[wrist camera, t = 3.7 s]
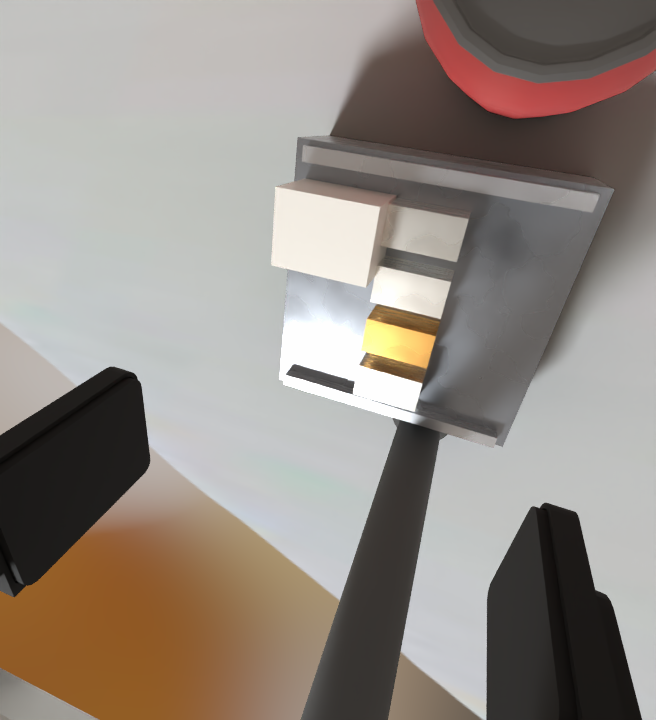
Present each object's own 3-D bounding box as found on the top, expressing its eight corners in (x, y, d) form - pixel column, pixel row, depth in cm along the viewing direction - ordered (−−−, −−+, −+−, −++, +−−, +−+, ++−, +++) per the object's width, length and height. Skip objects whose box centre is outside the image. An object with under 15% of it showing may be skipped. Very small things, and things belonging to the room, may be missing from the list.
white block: (396, 195, 18) (380, 206, 15) (383, 266, 19) (365, 287, 17) (305, 178, 18) (275, 186, 16) (299, 247, 20) (271, 264, 17)
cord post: (461, 394, 25) (392, 922, 8) (445, 441, 27) (362, 950, 10) (401, 377, 26) (229, 829, 9) (390, 424, 28) (229, 870, 11)
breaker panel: (593, 177, 18) (626, 194, 14) (501, 402, 24) (502, 468, 20) (329, 135, 21) (281, 138, 16) (306, 348, 27) (266, 394, 23)
